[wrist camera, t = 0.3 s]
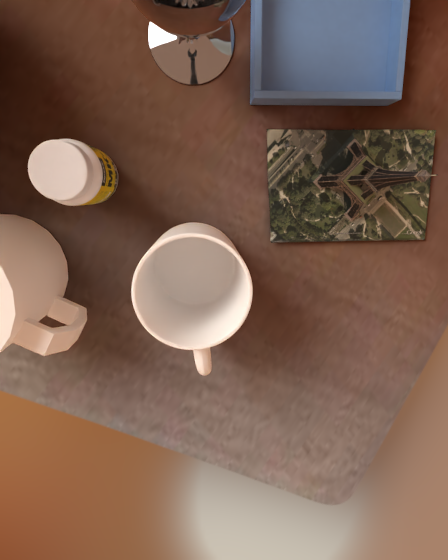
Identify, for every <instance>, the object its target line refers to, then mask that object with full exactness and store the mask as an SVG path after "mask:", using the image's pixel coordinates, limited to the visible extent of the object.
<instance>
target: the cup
mask: <svg viewBox="0 0 448 560" xmlns="http://www.w3.org/2000/svg"><path fill="white" fill-rule="evenodd" d="M131 295H132V302H133V307H134V310H135V313H136V315H137V317H138V319H139V321H140V322H141V324H142V325H143V326H144V328H145V329H146V330H147V331H148V332H149V333H150V334H151V335H152V336H154V337H155V338H156V339H158V340H159V341H161V342H163V343H165V344H167V345H169V346H172V347H175V348H179V349H185V350H193V352H194V358H195V363H196V367H197V370H198V372H199V373H200V374H201V375H208V374H209V373H210V372H211V368H212V367H211V352H210V347H213V346H215V345H218V344H220V343H222V342H223V341H225V340H227V339H228V338H229V337H231V336H232V335H233V334H234V333H235V332H236V331H237V330H238V329H239V328H240V327H241V325H242V324H243V322H244V321H245V319H246V317H247V315H248V313H249V310H250V307H251V303H252V296H253V287H252V280H251V276H250V273H249V270H248V268H247V266H246V264H245V262H244V261H243V259H242V257H241V256H240V254H239V253H238V251H237V249H236V248H235V246H234V245H233V243H232V242H231V240H230V239H229V238H228V237H227V236H226V235H225V234H224V233H223V232H221V231H220V230H218V229H217V228H215V227H213V226H210V225H208V224H204V223H196V222H191V223H184V224H180V225H177V226H175V227H173V228H171V229H169V230H168V231H166V232H165V233H164V234H163V235H162V236H161V237H160V238H159V239H158V240H157V241H156V242H155V243H154V245H153V246H152V247H151V248H150V249H149V250H148V251H147V253H146V254H145V255H144V256H143V258H142V259H141V260H140V262H139V264H138V266H137V268H136V270H135V273H134V276H133V280H132V288H131Z"/></svg>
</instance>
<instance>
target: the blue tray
mask: <svg viewBox="0 0 448 560" xmlns="http://www.w3.org/2000/svg"><path fill="white" fill-rule="evenodd" d="M409 10H410V0H251V58H250V105H338V106H388V105H390V104H392V103H394V102H397V101H399V100H401V99H402V89H403V77H404V66H405V55H406V44H407V32H408V21H409Z"/></svg>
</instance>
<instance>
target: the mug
mask: <svg viewBox="0 0 448 560" xmlns="http://www.w3.org/2000/svg"><path fill="white" fill-rule="evenodd" d="M67 282H68V267H67V260H66V258H65V255H64V253H63V251H62V248H61V246H60V244H59V243H58V242H57V241H56V240H55V238H54V237H53V236H52V235H51V233H50V232H49V231H48V230H46V229H45V228H43V227H42V226H40V225H39V224H37V223H36V222H34V221H33V220H30V219H27V218H24V217H21V216H18V215H15V214H0V352H1V351H3V350H4V349H5V348H6V347H8V346H9V345H10V344H11V343H15V344H17V345H20V346H22V347H24V348H26V349H29V350H31V351H33V352H36V353H38V354H40V355H43V356H46V355H50V354H54V353H58V352H62V351H66V350H68V349H69V348H70V347H71V346H72V345H73V344H74V343H75V342H76V341H77V340H78V338H79V336H80V334H81V332H82V330H83V328H84V325H85V323H86V321H87V308H85V307H83V306H81V305H79V304H76V303H74V302H72V301H70V300H68V299H65V298H63V296H64V294H65V290H66V286H67ZM46 315H47V316H48V317H50V318H53V319H55V320H57V321H59V322H61V323H64V324H66V325H68V326H61V327H55V328H51V327H48V326H46V325H44V324H41V323H39V322H38V321H40V320H41V319H42V318H43V317H45V316H46Z"/></svg>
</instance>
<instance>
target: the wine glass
mask: <svg viewBox="0 0 448 560" xmlns="http://www.w3.org/2000/svg"><path fill="white" fill-rule="evenodd" d="M245 1H246V0H132V2H133V3H134V4H135V6H136V7H137V9H138V10H139V11H140V12H141V13H142V14H143V15H144V16H145V17H146V18H147V19H148V20H149V21H150V24H149V30H148V41H149V47H150V50H151V53H152V56H153V58H154V60H155V62H156V64H157V65H158V67H159V68H160V69H161V70H162V71H163V72H164V73H165V74H166V75H167V76H168V77H170V78H171V79H173V80H175V81H177V82H179V83H182V84H187V85H199V84H204V83H207V82H209V81H211V80H213V79H215V78H216V77H217V76H218V75H220V74H221V73H222V72H223V70H224V69H225V68H226V67H227V65H228V63H229V61H230V59H231V56H232V54H233V49H234V39H235V36H234V28H233V25H232V21H231V19H232V18H233V17H234V16H235V15H236V13H237V12H238V11H239V10H240V8H241V7H242V6H243V4H244V2H245Z"/></svg>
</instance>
